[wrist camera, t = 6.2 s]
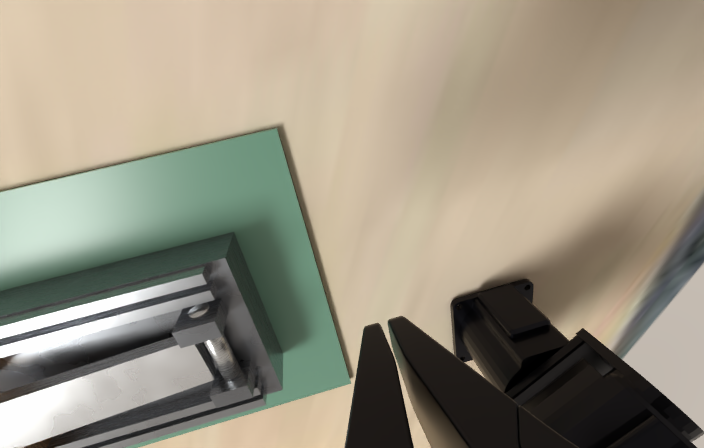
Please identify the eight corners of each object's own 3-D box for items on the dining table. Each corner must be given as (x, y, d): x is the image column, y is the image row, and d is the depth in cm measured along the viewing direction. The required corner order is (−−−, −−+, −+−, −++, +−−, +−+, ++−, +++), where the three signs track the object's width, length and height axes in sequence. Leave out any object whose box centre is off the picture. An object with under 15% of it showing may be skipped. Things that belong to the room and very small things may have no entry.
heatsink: (283, 353, 23) (282, 423, 18) (49, 420, 22) (-15, 514, 17) (233, 231, 19) (216, 283, 14) (-63, 307, 17) (-190, 391, 13)
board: (350, 379, 26) (350, 383, 26) (37, 472, 24) (33, 478, 24) (276, 127, 17) (276, 128, 17) (-226, 243, 15) (-238, 247, 15)
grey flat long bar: (216, 368, 18) (214, 379, 18) (-15, 448, 17) (-26, 464, 16) (194, 329, 17) (192, 340, 16) (-58, 411, 15) (-74, 428, 15)
